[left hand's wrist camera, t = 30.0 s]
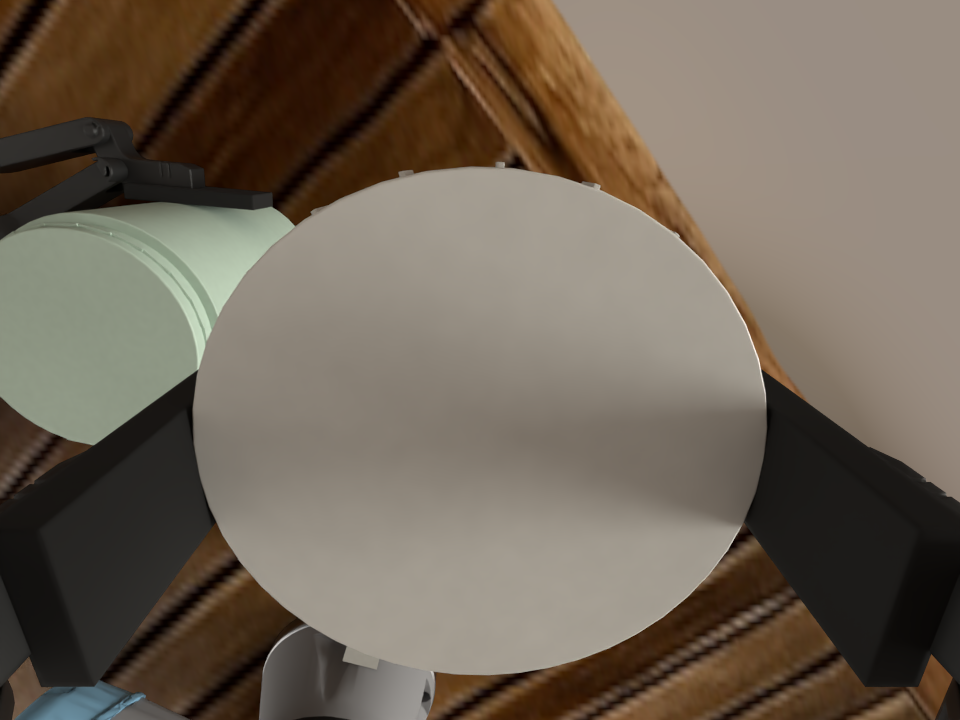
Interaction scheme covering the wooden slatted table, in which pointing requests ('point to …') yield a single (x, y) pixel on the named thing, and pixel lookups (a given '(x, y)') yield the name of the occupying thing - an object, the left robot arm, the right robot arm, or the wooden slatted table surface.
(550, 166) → the wooden slatted table surface
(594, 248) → the lid
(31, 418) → the jar
